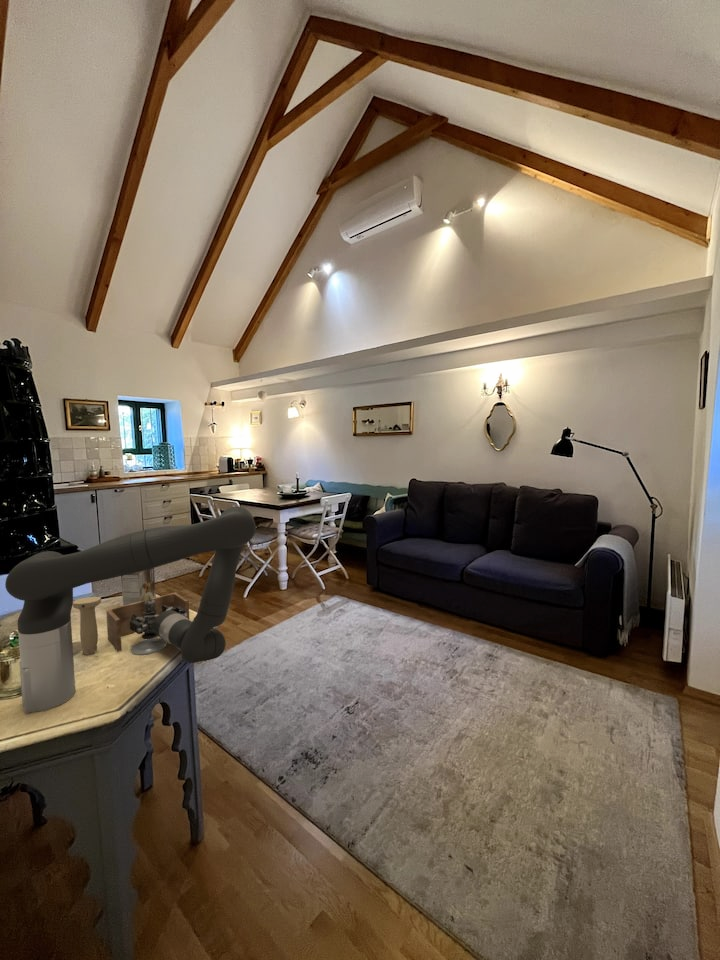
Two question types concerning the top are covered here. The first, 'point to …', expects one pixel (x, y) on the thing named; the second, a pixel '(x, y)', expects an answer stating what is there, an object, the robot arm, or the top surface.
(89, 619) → the turned wooden grip
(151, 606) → the grey metal upright piece
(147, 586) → the coffee box
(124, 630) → the walnut cubby
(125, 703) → the top surface
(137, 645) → the coaster
